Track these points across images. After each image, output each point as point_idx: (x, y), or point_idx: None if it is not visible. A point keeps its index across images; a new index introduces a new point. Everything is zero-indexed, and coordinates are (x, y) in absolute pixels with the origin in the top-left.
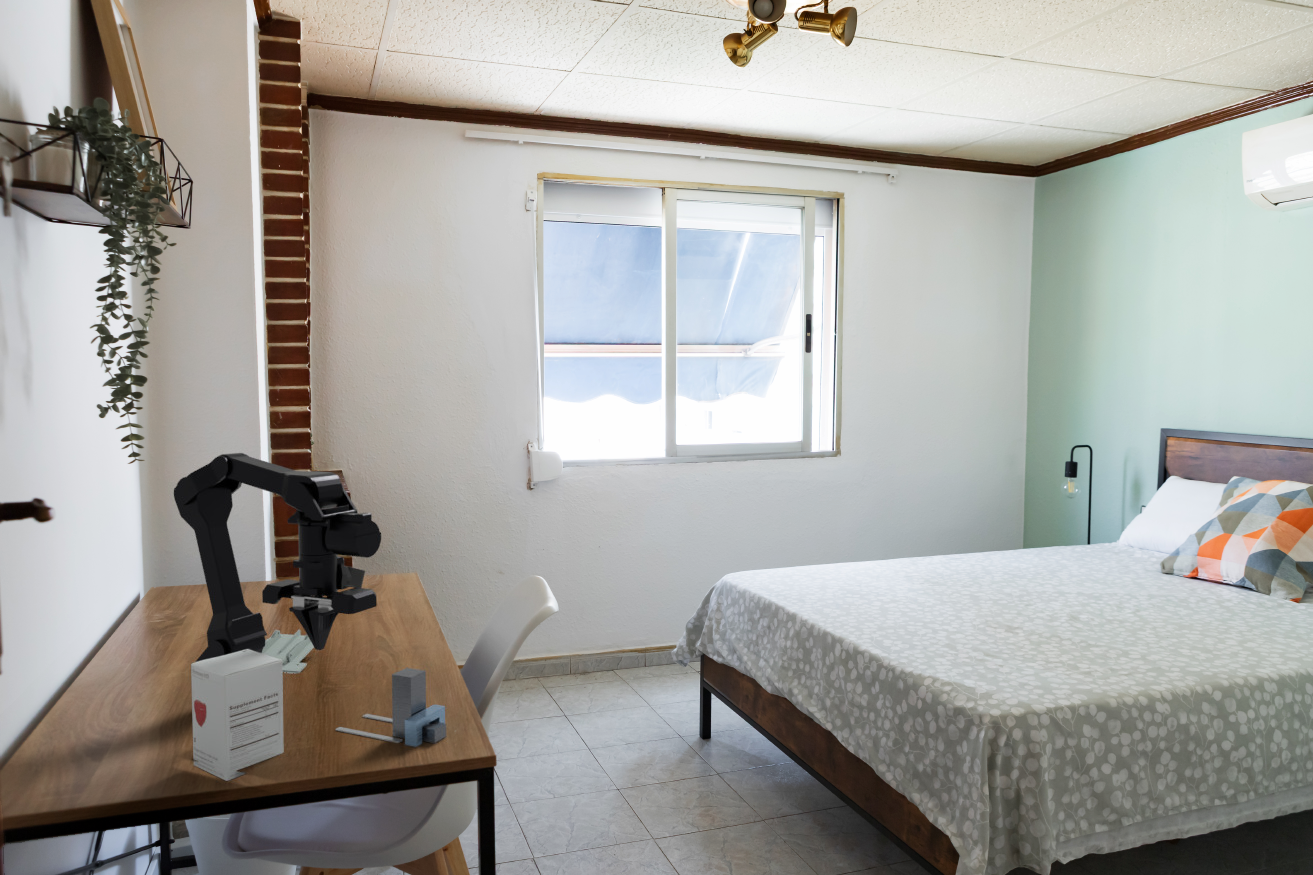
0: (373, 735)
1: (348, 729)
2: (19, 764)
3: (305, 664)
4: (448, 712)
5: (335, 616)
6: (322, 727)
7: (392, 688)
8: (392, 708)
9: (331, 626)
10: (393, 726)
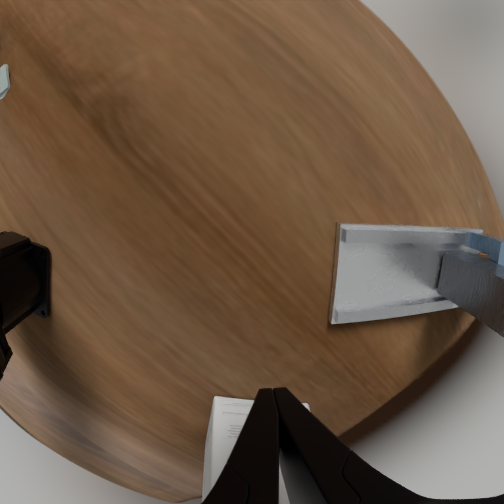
0: (413, 311)
1: (361, 313)
2: (64, 455)
3: (5, 68)
4: (440, 128)
5: (418, 501)
6: (271, 292)
7: (493, 329)
8: (467, 311)
9: (360, 459)
10: (447, 298)
